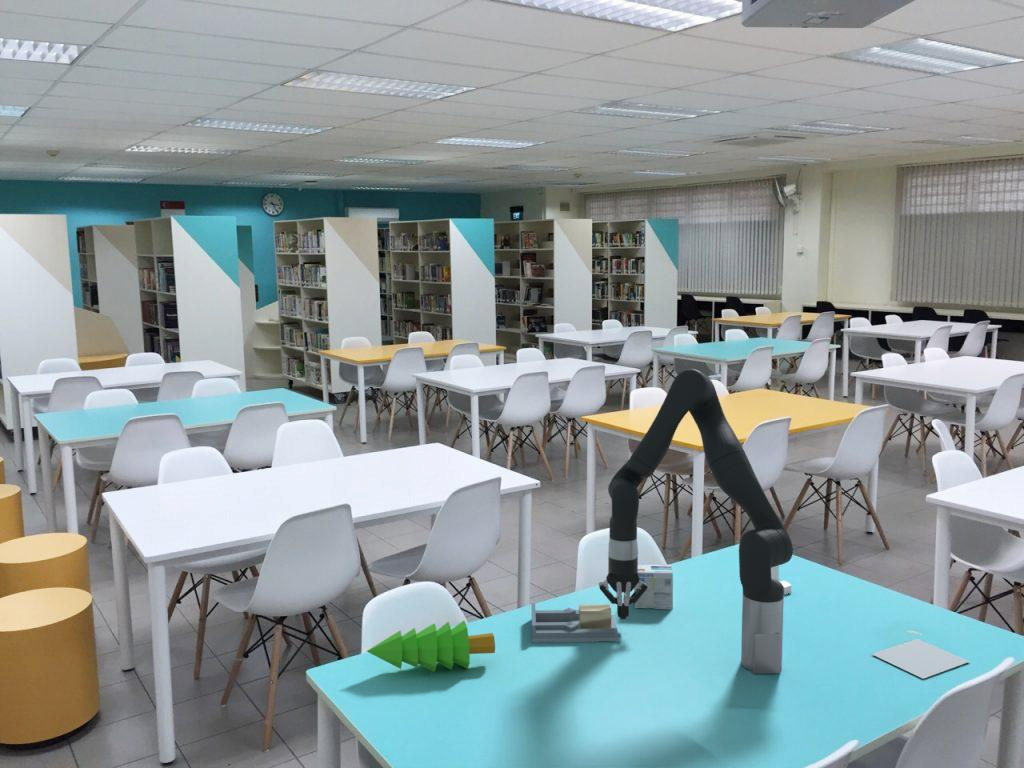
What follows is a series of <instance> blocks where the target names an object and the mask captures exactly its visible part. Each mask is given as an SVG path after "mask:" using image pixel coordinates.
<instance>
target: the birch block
mask: <svg viewBox="0 0 1024 768" xmlns="http://www.w3.org/2000/svg"><path fill="white" fill-rule="evenodd" d="M578 610H579V624H580V629H585V628H611V615H612V609H611V605H610V604H609V603H608V604H579V605H578Z"/></svg>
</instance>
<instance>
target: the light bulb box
mask: <svg viewBox="0 0 1024 768" xmlns="http://www.w3.org/2000/svg"><path fill="white" fill-rule="evenodd" d="M673 575H674V574H673V569H672V565H671V564H638V576H639V578H640V580H641V581H642V582H646V585H647V589H646V591H645V592H644V593H643V594H642V595H641V597H640V598H639V599H638V600H637V602H636V603H634V604H633V605H634V609H635V608H655V609H654V610H673V609H674V591H673V590H674V576H673ZM637 585H638V584H637ZM637 585H636V586H635V588H634V589H633V593H634V592H635V591H636V589H637Z"/></svg>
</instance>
